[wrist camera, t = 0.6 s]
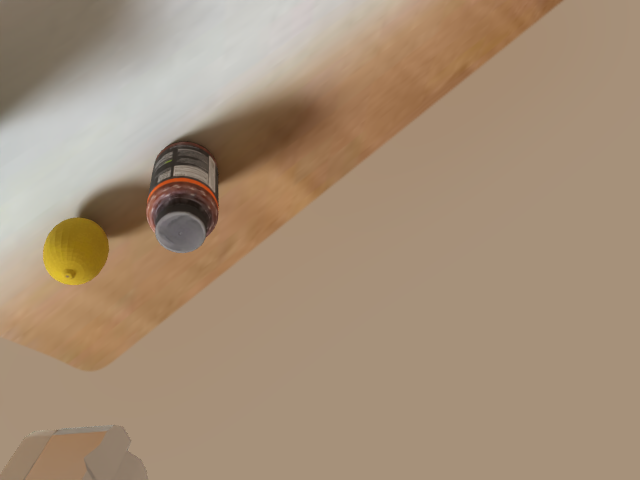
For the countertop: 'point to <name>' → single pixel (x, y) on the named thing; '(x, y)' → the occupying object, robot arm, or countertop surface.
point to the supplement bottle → (183, 196)
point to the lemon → (75, 251)
